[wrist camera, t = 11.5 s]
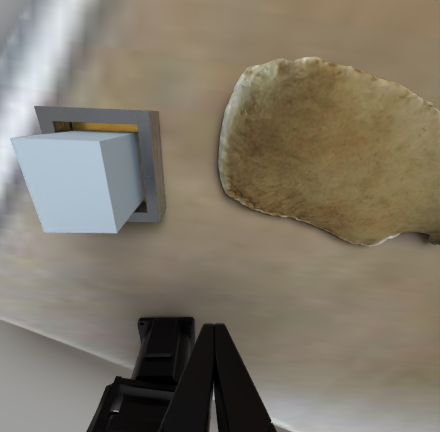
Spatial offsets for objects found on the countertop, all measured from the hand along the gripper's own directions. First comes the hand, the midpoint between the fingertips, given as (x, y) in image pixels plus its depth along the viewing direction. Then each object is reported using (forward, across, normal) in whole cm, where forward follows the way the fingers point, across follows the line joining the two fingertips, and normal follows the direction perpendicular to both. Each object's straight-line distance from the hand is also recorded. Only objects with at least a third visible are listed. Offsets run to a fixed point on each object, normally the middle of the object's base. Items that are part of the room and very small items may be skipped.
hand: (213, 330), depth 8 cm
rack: (+12, +8, -4) cm, 15 cm away
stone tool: (+12, -12, -4) cm, 18 cm away
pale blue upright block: (+11, +8, -4) cm, 14 cm away
